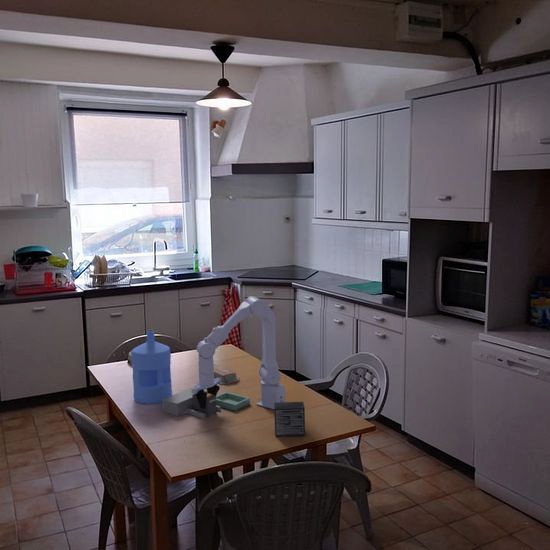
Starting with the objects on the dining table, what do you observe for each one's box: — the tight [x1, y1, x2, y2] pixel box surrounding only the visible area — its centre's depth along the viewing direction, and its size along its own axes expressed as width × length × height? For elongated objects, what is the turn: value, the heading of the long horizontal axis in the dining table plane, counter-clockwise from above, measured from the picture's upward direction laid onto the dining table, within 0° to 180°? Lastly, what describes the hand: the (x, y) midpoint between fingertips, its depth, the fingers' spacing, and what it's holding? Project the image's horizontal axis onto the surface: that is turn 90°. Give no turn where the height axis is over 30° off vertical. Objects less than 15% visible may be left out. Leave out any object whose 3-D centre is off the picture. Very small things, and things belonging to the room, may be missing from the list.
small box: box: [273, 401, 306, 438], centre depth 203 cm, size 11×6×10 cm, turn 92°
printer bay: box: [162, 386, 222, 419], centre depth 226 cm, size 18×18×5 cm
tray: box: [216, 391, 251, 412], centre depth 231 cm, size 13×9×2 cm
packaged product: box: [214, 363, 241, 386], centre depth 263 cm, size 18×5×10 cm
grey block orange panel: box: [192, 393, 217, 417], centre depth 222 cm, size 8×4×7 cm, turn 54°
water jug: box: [131, 330, 173, 405], centre depth 237 cm, size 16×16×28 cm
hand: (207, 406), depth 222 cm, fingers closed on grey block orange panel, 4 cm apart
